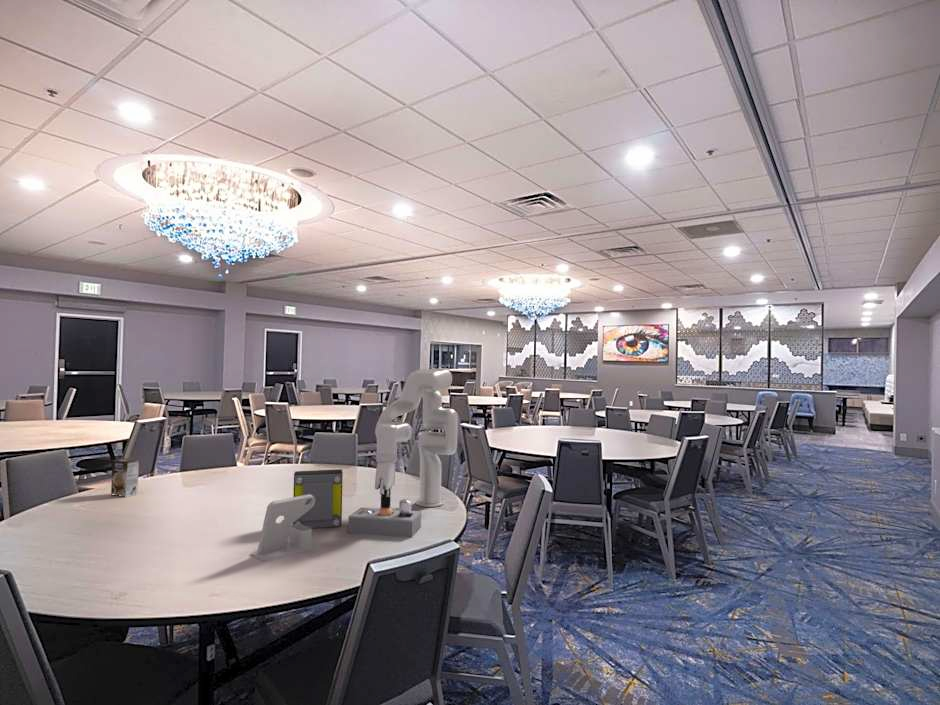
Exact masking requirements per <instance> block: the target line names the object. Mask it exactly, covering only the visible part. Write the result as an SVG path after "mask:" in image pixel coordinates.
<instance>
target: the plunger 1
mask: <svg viewBox="0 0 940 705" xmlns="http://www.w3.org/2000/svg"><path fill="white" fill-rule="evenodd" d="M360 514H366V515H371V514H372V510H369V509H366V510H362V511H361V513H360Z"/></svg>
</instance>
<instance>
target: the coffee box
mask: <svg viewBox="0 0 940 705" xmlns="http://www.w3.org/2000/svg"><path fill="white" fill-rule="evenodd" d="M139 463H140V459H134V458H119V459H113V460H111V491H110V495H111V494H115V495H121V496H129V495H133V494H137V495H138V489H139V470H140V469H139V468H140V467H139V465H140V464H139ZM133 496H134V495H133ZM129 497H130V496H129Z"/></svg>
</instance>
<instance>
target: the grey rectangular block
mask: <svg viewBox="0 0 940 705" xmlns="http://www.w3.org/2000/svg"><path fill="white" fill-rule="evenodd" d="M366 509H369V510H372V514H371V515H366V514H360V513H361V511H362V510H366ZM421 527H422V511H420V510H411V516H407V517H402V516H399V509H392V515H391V516H381V515H380V508H375V507H373V508H372V507H359V509H357V510H356V511H354V512H352V513H351V514H350V515H349V516H348V533H349V534H362V535H374V536H386V537H387V536H388V537H389V536H390V537H400V538H402V537H403V538H405V537H406V538H413V537H414V536H415V535H416V533H417V532H419V530H420V529H421Z"/></svg>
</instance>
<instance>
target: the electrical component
mask: <svg viewBox="0 0 940 705" xmlns="http://www.w3.org/2000/svg"><path fill="white" fill-rule="evenodd" d="M308 494H311V495H312V496H313V497H314V498H315V504H314V506H313V507H312V508H311V509H310V510H309V511H307V512H306V513H305V514H304V515H302V516H301V517H300V518H298V519H297V520H296V521H295V522H293V524H292V525H294V524H301V525H304V526H306V527H309V528H311V529H313V528H314V529H315V528H318V529H319V528H330V527H331V528H332V527H341V526H342V517H343V515H342V514H343V513H342V512H343V469H340V468H339V469H322V470H321V469H319V470H298V471H294V474H293V497H298V496H303V495H308ZM311 500H312V499H308V500H307V501H306V503H305V505H307V504H309V503H310V502H311Z"/></svg>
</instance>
